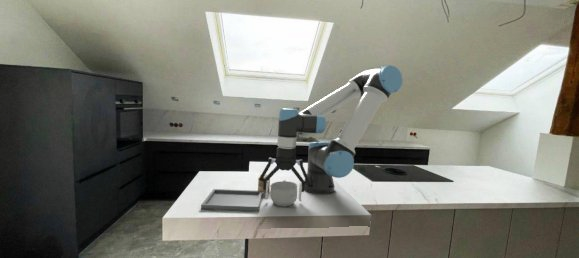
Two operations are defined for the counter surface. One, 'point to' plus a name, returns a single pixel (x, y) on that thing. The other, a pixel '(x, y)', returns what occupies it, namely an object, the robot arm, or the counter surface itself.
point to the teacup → (283, 193)
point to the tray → (232, 200)
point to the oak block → (260, 185)
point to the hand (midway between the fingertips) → (283, 198)
